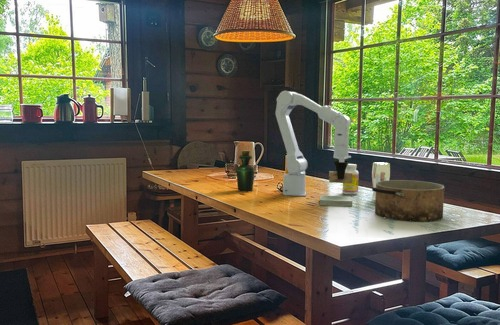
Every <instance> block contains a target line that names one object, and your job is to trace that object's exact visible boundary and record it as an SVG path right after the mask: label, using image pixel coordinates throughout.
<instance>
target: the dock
mask: <svg viewBox="0 0 500 325" xmlns="http://www.w3.org/2000/svg"><path fill="white" fill-rule="evenodd" d="M319 205H320V206H330V207H331V206H333V207H334V206H335V207H339V206H340V207H353V198H352V196H351V195H349V196H348V195H346V196H345V195H324V194H323V195H320V196H319Z"/></svg>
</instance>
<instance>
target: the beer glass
mask: <svg viewBox="0 0 500 325" xmlns="http://www.w3.org/2000/svg"><path fill="white" fill-rule="evenodd" d="M390 177H391V163H389V162H380V161H379V162H378V161H377V162H373V163H372V170H371V178H372V179H371V180H372V188H373V187H374V188H376V183H377V182H379V181H386V180H390ZM375 197H376V192H375V191H372V198H371V199H372V201H375Z"/></svg>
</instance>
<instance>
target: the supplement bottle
mask: <svg viewBox="0 0 500 325" xmlns="http://www.w3.org/2000/svg"><path fill="white" fill-rule="evenodd" d="M357 166H358V165H357V164H356V163H355V164H354V163H348V165H347V167H346V170H345V172H352V183H342V194H345V195H347V196H348V195H349V196H351V195H353V196H354V195H358V193H359V175H360V174H359V171H358V170H357V168H358V167H357Z"/></svg>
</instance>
